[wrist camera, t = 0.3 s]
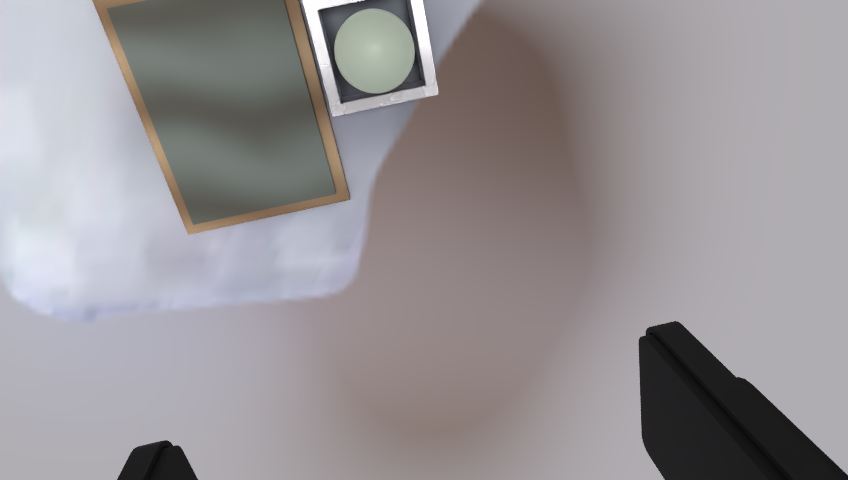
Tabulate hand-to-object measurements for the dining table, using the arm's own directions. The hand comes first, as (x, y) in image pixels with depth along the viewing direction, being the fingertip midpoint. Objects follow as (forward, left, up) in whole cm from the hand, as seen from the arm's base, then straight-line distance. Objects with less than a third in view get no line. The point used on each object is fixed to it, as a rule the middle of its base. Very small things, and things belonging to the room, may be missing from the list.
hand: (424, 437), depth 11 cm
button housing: (-6, +1, -30) cm, 30 cm away
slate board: (-4, -9, -30) cm, 31 cm away
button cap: (-6, +1, -28) cm, 29 cm away
